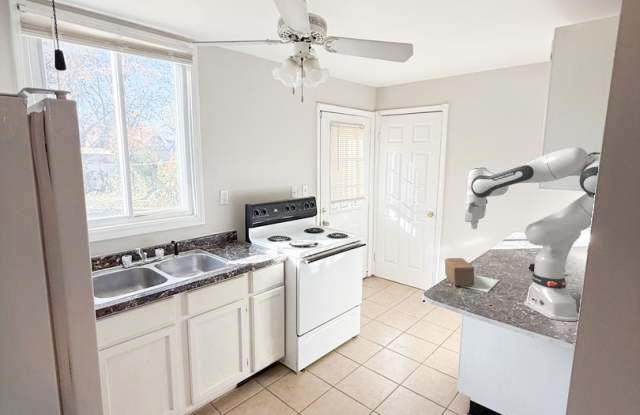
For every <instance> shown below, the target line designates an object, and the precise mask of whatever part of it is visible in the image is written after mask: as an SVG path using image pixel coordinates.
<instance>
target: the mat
mask: <svg viewBox="0 0 640 415" xmlns="http://www.w3.org/2000/svg"><path fill="white" fill-rule="evenodd" d="M499 281H500V280H499V279H496V278H491V277H487V276H486V277H485V276H481V275H476V274H474V285H473V286H461V287H463V288H467V289H471V290H475V291H480V292H482V293H483V292H484V293H489V291H491V290H492V289H493V287H495V286H496V284H497V283H498V282H499Z"/></svg>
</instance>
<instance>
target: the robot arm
mask: <svg viewBox="0 0 640 415" xmlns="http://www.w3.org/2000/svg"><path fill="white" fill-rule="evenodd" d="M600 153H601V152H596V151H595V152H590V153H589V154H588V153H587V151H586V150H585V149H583V148H582V147H579V146H573V147H567V148H563V149H558V150H556V151H553V152H549V153H547V154H544V155H542V156H539V157H537V158H535V159H533V160H531V161H528V162H526V163H524V164H521V165H519V166H517V167H515V168H511V169H508V170H505V171H502V172H499V173H496V174H495V173H493V172H491V171H489V169H488V168H486V167H477V168H473V169H471V170H470V171H469V172H468V175H467V176H468V177H467V181H466V182H467V185H466V187H467V192H466V198H465V199H466V200H465V204H466V208H465V213H464V222H465V223H470V226H471V230H477V229H478V224H479V220H482V219H483V218H485V215H486V211H487V210H486V209H487V205H488V198H489V197H490V198H491V197H497V196H498V197H499V196H501V195H502V196H503V195H504V194H505V193H507V191H508V189H509V186H512V185H517V184H518V185H519V184H527V183H528V184H529V183H530V184H532V183H535V184H536V183H548V182H554V181H557V180H561V179H565V178H567V177H575V176H576V177H579V180H578V181H579V185H580V188H581V190H583V192H585V194H583V195H581V196H580V197H578V198H577V199H576V200H574V201H573V202H571V203H569V204H568V205H567V206H565V207H564V208H562V209H560V210H557V211H555V212H552V213H551V214H549V215H547V216H545V217H543V218H541V219H538V220H537V221H535V222H532V223H530V224H528V225H527V226H526V227H525V231H524V235H525V239H526V240H527V241H528V242H529V243H530V244H531V245H535V246H539V247H542V248H541V249H540V251H539V252H538V253H537V254H536V256H535V259H534V264H535V267H534V272H533V271H532V275H531V276H532V277H531V280H532V282H531V284H530V286H529V287H528V292H527V297H526V300H525V301H524V302H523V305H524V306H526V307H528V308H529V309H531V310H534V311H535V312H537V313H539V314H541V315H543V316H544V317H546V318H548V319H550V320H554V321H559V322H562V321H563V322H577V320H578V314H580V313H579V312H578V311H577V309H578V305H577V300H576V298H574V297H573V296H572V295H571V293H570V291H569V290H568V289H567V286H568V283H569V282H566V278H565V272H566V263H567V258H568V257H569V253H570V251H571V249H572V248H573V245H574V244H575V243H576V241H577V240H578V239H580V237H581V234H582V231H585V230H587V229H588V228H591V226H590V225H591V218H592V211H593V204H594V195H595V187H596V180H597V173H598V165H599V157H600ZM487 197H488V198H487ZM564 271H565V272H564Z"/></svg>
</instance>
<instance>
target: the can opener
mask: <svg viewBox="0 0 640 415" xmlns="http://www.w3.org/2000/svg"><path fill="white" fill-rule="evenodd" d="M534 267H535V263H534V262H533V263H530V264H529V267H528V270H529V271H531V272H532V273H533V272H534ZM565 272H566V270H565V271H564V273H565Z"/></svg>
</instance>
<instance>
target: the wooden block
mask: <svg viewBox="0 0 640 415" xmlns="http://www.w3.org/2000/svg"><path fill="white" fill-rule="evenodd" d="M444 272H445V276H446V277H447V278H448V280H449V281H450V282H451V283H452V284H453V285H454V287H455V286H456V287H462V286H473V285H474V275H475V268H474V266H472V264H470V263H469V262H468V261H466V259H464V258H463V257H450V258H444Z"/></svg>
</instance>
